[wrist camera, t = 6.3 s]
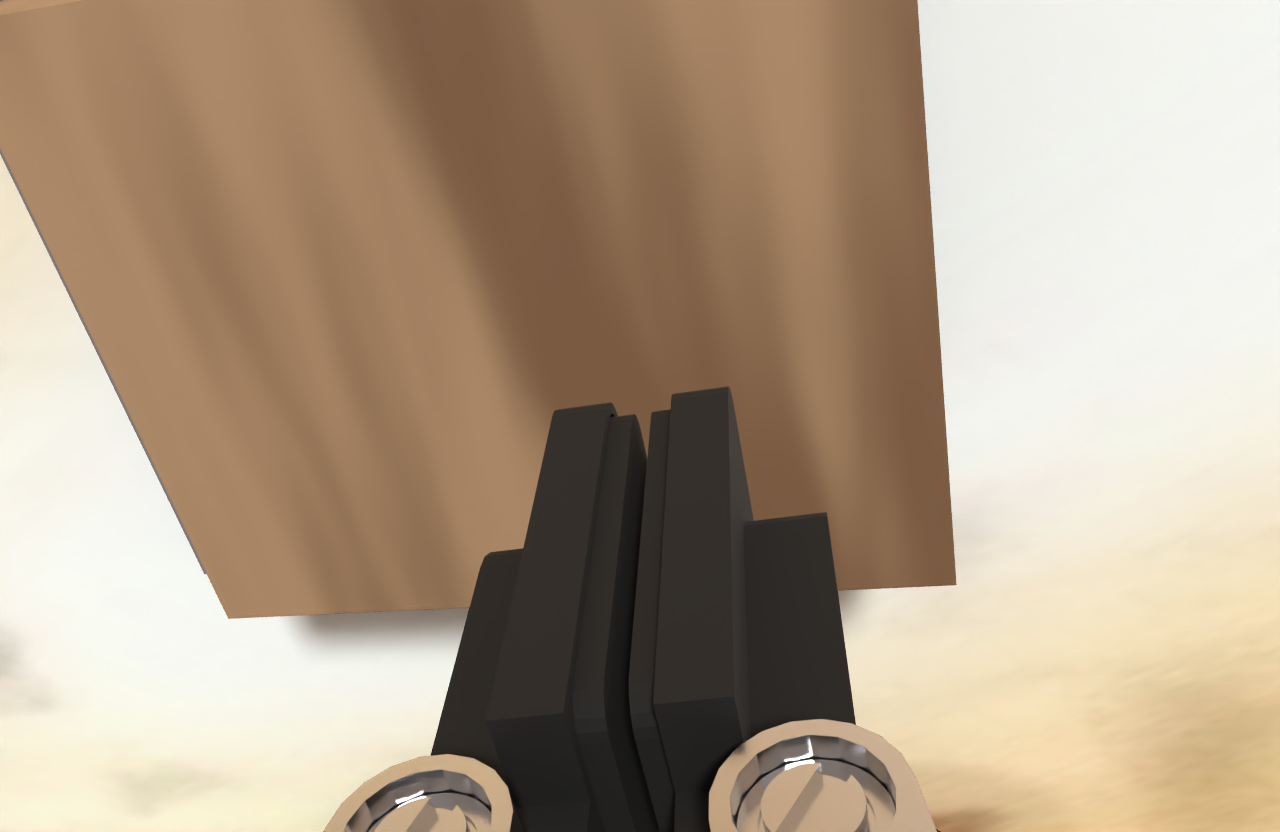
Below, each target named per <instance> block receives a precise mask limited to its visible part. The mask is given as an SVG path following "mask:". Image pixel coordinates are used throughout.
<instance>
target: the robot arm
mask: <svg viewBox="0 0 1280 832" xmlns="http://www.w3.org/2000/svg"><path fill="white" fill-rule="evenodd" d="M324 832H940V831H939V830H937V829H936V828H935V825H934V823H933V820H932V818H931V815H930V812H929V810H928V807H927V805H926V802H925V799H924V797H923V794H922V792H921V789H920V786H919V784H918V781H917V779H916V776H915V775H914V773H913V771H912V770H911V768H910V766H909V765H908V763H907V762H906V760H905V758H904V757H903V755H902V753H900V752H899V751H898V750H897V749H896V748H894V747H893V746H892V745H891V744H890V743H888V742H887V741H886V740H885V739H883V738H882V737H881V736H880V735H878V734H876V733H873V732H871V731H868V730H866V729H864V728H861V727H859V726H857V725H856V723H855V716H854V708H853V701H852V694H851V686H850V679H849V672H848V664H847V657H846V649H845V642H844V635H843V627H842V620H841V613H840V605H839V598H838V590H837V583H836V576H835V568H834V561H833V554H832V546H831V539H830V532H829V524H828V517H827V512H823V513H815V514H806V515H798V516H790V517H781V518H773V519H764V520H756V521H754V519H753V513H752V507H751V501H750V496H749V490H748V484H747V478H746V473H745V467H744V461H743V455H742V450H741V444H740V438H739V432H738V426H737V421H736V415H735V409H734V404H733V398H732V394H731V390H730V387H729V386H727V387H720V388H712V389H705V390H697V391H690V392H683V393H675V394H672V397H671V409H670V410H662V411H655V412H652V414H651V421H650V433H649V445H648V457H647V455H646V451H645V446H644V442H643V437H642V433H641V429H640V425H639V421H638V419H637V416H636V415H635V414H632V415H625V416H618V415H617V412H616V409H615V407H614V405H613V404H612V402H609V403H602V404H595V405H587V406H580V407H573V408H565V409H558V410H555V411H554V413H553V415H552V419H551V424H550V429H549V433H548V438H547V442H546V447H545V451H544V456H543V460H542V465H541V470H540V474H539V479H538V483H537V488H536V492H535V497H534V502H533V506H532V511H531V515H530V520H529V524H528V529H527V533H526V538H525V543H524V547H523V548H521V549H513V550H505V551H496V552H490V553H488V554H487V555H486V556H485V557H484V559H483V562H482V564H481V567H480V570H479V574H478V577H477V581H476V585H475V589H474V593H473V596H472V600H471V604H470V608H469V612H468V615H467V619H466V623H465V627H464V631H463V634H462V638H461V642H460V646H459V650H458V653H457V657H456V661H455V665H454V669H453V672H452V676H451V680H450V684H449V688H448V691H447V695H446V699H445V703H444V707H443V710H442V714H441V718H440V722H439V726H438V730H437V733H436V737H435V741H434V745H433V749H432V752H431V756H424V757H418V758H415V759H412V760H409V761H406V762H403V763H401V764H398V765H395V766H392V767H390V768H388V769H387V770H385V771H383V772H382V773H380V774H378V775H376V776H375V777H373V778H371V779H370V780H368V781H366V782H365V783H364V784H362V785H361V786H360V787H359V788H358V789H357V790H356V791H355V792H354V793H353V794H352V795H351V796H349V797H348V798H347V799H346V800H345V801H344V802H343V803H342V804H341V806H340V807H339V808H338V810H337V811H336V813H335V814H334V816H333V817H332V819H331V820H330V822H329V823H328V825H327V826H326V828H325V830H324Z"/></svg>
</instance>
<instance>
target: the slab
mask: <svg viewBox="0 0 1280 832" xmlns="http://www.w3.org/2000/svg"><path fill="white" fill-rule="evenodd" d="M0 149H1V151H2V153H3V155H4V157H5V159H6V161H7V163H8V166H9V168H10V170H11V172H12V174H13V176H14V178H15V180H16V182H17V184H18V186H19V188H20V190H21V192H22V194H23V196H24V198H25V201H26V203H27V205H28V207H29V209H30V211H31V213H32V215H33V217H34V219H35V221H36V223H37V225H38V227H39V229H40V231H41V233H42V236H43V238H44V240H45V242H46V244H47V246H48V248H49V250H50V252H51V254H52V256H53V258H54V260H55V262H56V264H57V266H58V268H59V271H60V273H61V275H62V277H63V279H64V281H65V283H66V285H67V287H68V289H69V291H70V293H71V295H72V297H73V299H74V301H75V303H76V306H77V308H78V310H79V312H80V314H81V316H82V318H83V320H84V322H85V324H86V326H87V328H88V330H89V332H90V334H91V336H92V339H93V341H94V343H95V345H96V347H97V349H98V351H99V353H100V355H101V357H102V359H103V361H104V363H105V365H106V367H107V369H108V371H109V374H110V376H111V378H112V380H113V382H114V384H115V386H116V388H117V390H118V392H119V394H120V396H121V398H122V400H123V402H124V404H125V406H126V409H127V411H128V413H129V415H130V417H131V419H132V421H133V423H134V425H135V427H136V429H137V431H138V433H139V435H140V437H141V439H142V441H143V444H144V446H145V448H146V450H147V452H148V454H149V456H150V458H151V460H152V462H153V464H154V466H155V468H156V470H157V472H158V474H159V476H160V479H161V481H162V483H163V485H164V487H165V489H166V491H167V493H168V495H169V497H170V499H171V501H172V503H173V505H174V507H175V509H176V511H177V514H178V516H179V518H180V520H181V522H182V524H183V526H184V528H185V530H186V532H187V534H188V536H189V538H190V540H191V542H192V544H193V547H194V549H195V551H196V553H197V555H198V557H199V559H200V561H201V563H202V565H203V567H204V569H205V571H206V573H207V575H208V577H209V579H210V582H211V584H212V586H213V588H214V590H215V592H216V594H217V596H218V598H219V600H220V602H221V604H222V606H223V608H224V610H225V612H226V614H227V617H228V619H230V618H252V617H274V616H295V615H317V614H339V613H360V612H382V611H404V610H425V609H447V608H469V607H470V604H471V600H472V596H473V593H474V589H475V585H476V581H477V577H478V574H479V570H480V567H481V564H482V562H483V559H484V557H485V556H486V555H487V554H488V553H490V552H496V551H505V550H513V549H521V548H523V547H524V543H525V538H526V533H527V529H528V524H529V520H530V515H531V511H532V506H533V502H534V497H535V492H536V488H537V483H538V479H539V474H540V470H541V465H542V460H543V456H544V451H545V447H546V442H547V438H548V433H549V429H550V424H551V419H552V415H553V413H554V411H555V410H558V409H565V408H573V407H580V406H587V405H595V404H602V403H609V402H612V404H613V405H614V407H615V409H616V412H617V415H618V416H625V415H632V414H635V415H636V416H637V419H638V421H639V425H640V429H641V433H642V437H643V442H644V446H645V451H646V455H647V457H648V445H649V433H650V421H651V414H652V412H655V411H662V410H670V409H671V397H672V394H675V393H683V392H690V391H697V390H705V389H712V388H720V387H727V386H729V387H730V390H731V394H732V398H733V404H734V409H735V415H736V421H737V426H738V432H739V438H740V444H741V450H742V455H743V461H744V467H745V473H746V478H747V484H748V490H749V496H750V501H751V507H752V513H753V519H754V521H756V520H764V519H773V518H781V517H790V516H798V515H806V514H815V513H823V512H827V517H828V524H829V532H830V539H831V546H832V554H833V561H834V568H835V576H836V583H837V590H859V589H881V588H902V587H924V586H946V585H956V573H955V558H954V543H953V528H952V513H951V498H950V483H949V468H948V453H947V438H946V423H945V408H944V393H943V378H942V363H941V348H940V333H939V318H938V303H937V288H936V273H935V258H934V243H933V228H932V214H931V199H930V184H929V169H928V154H927V139H926V124H925V109H924V94H923V79H922V64H921V49H920V34H919V19H918V4H917V0H3V1H0Z"/></svg>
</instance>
